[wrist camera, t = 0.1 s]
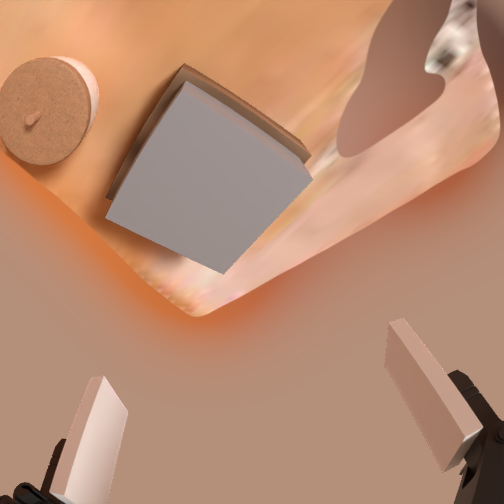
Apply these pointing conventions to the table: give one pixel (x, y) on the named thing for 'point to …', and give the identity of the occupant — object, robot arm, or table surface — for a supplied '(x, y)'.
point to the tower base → (225, 98)
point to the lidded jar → (47, 108)
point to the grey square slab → (206, 181)
